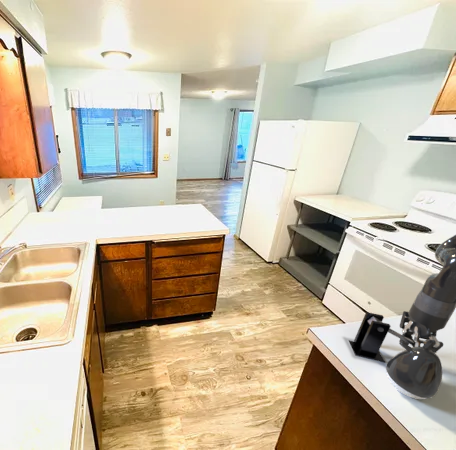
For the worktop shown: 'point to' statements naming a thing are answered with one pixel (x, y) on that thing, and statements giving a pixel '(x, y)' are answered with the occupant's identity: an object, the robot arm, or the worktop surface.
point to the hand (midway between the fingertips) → (408, 350)
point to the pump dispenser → (415, 372)
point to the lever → (406, 339)
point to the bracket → (370, 338)
